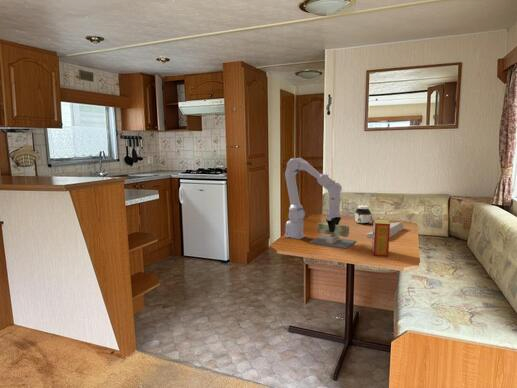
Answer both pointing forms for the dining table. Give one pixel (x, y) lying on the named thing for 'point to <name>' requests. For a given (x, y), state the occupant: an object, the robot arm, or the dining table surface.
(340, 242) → the stand
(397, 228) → the decorative molding
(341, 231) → the bar
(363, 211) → the white toy car
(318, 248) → the dining table surface
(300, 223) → the robot arm
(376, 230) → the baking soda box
